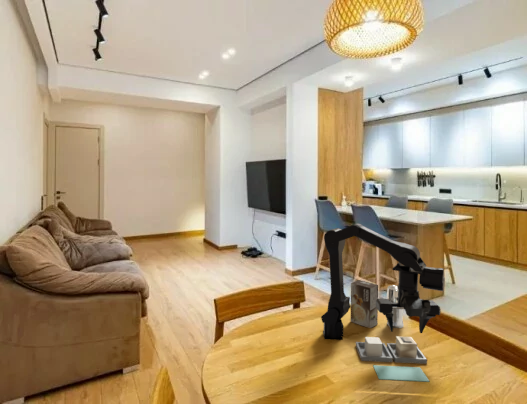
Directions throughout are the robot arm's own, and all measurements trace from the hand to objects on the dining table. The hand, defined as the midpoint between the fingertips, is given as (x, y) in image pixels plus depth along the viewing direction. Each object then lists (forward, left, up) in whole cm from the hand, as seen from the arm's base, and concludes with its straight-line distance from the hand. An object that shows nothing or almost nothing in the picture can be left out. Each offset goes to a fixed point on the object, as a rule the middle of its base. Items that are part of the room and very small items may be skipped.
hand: (406, 332), depth 111 cm
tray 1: (-10, 0, -8) cm, 13 cm away
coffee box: (-8, +25, -8) cm, 28 cm away
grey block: (-10, 0, -8) cm, 13 cm away
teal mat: (-5, -11, -8) cm, 15 cm away
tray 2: (0, 0, -8) cm, 8 cm away
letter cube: (0, 0, -8) cm, 8 cm away
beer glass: (+4, +24, -8) cm, 26 cm away
